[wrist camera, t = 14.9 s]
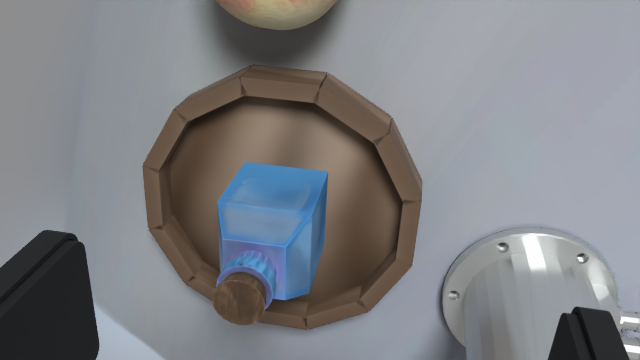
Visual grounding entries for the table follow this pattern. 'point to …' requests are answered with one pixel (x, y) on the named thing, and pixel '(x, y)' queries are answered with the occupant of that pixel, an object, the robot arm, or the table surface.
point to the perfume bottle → (268, 238)
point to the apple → (277, 12)
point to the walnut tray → (298, 152)
